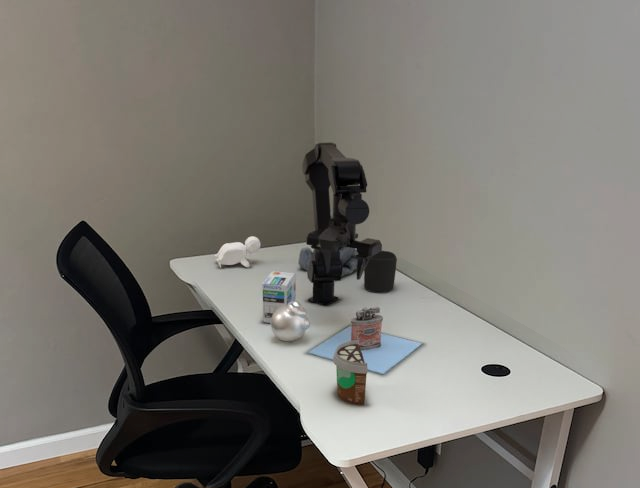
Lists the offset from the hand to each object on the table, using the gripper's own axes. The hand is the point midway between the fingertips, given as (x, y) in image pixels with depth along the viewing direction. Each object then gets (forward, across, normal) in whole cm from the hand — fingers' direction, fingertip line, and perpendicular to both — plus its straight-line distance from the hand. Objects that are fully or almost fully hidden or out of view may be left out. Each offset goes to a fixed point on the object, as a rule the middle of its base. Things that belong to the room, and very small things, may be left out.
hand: (342, 275), depth 176 cm
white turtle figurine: (+13, -53, +24) cm, 60 cm away
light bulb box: (+13, -16, -5) cm, 21 cm away
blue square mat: (+13, +13, -10) cm, 21 cm away
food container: (+13, +21, -33) cm, 41 cm away
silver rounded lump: (+13, -5, -16) cm, 21 cm away
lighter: (+13, +13, -10) cm, 21 cm away
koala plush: (+13, -25, +37) cm, 47 cm away
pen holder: (+13, -5, +30) cm, 33 cm away
